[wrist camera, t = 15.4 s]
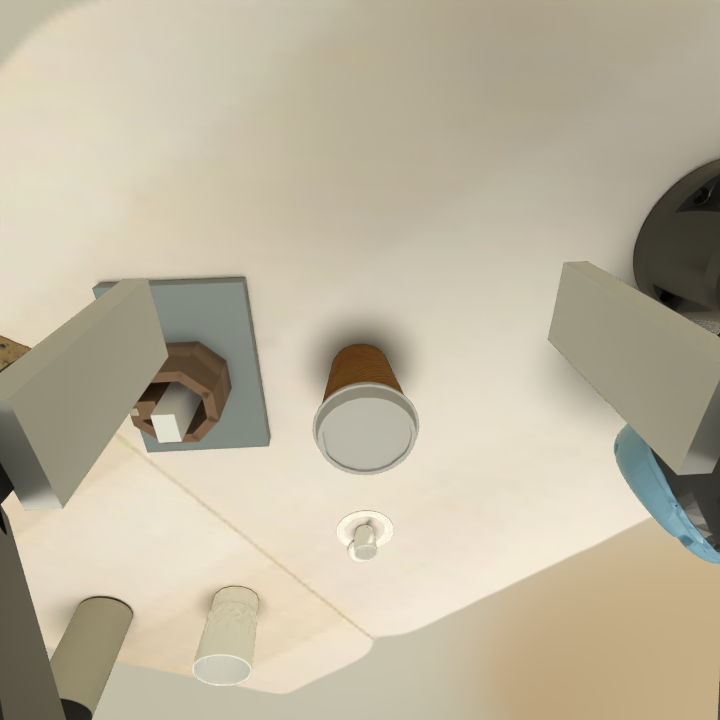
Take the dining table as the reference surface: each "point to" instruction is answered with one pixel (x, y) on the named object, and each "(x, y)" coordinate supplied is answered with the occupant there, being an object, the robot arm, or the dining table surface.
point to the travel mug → (89, 654)
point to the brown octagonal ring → (197, 373)
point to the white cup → (228, 638)
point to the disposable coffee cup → (364, 414)
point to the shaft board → (227, 339)
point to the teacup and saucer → (364, 536)
